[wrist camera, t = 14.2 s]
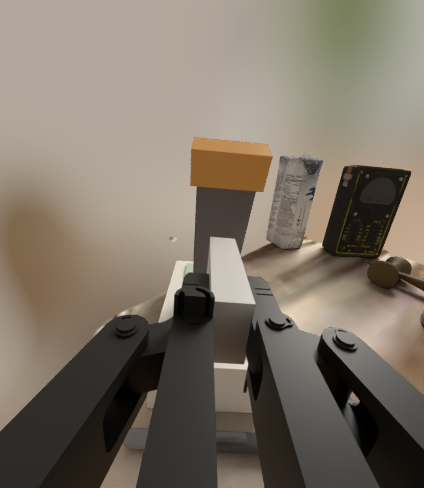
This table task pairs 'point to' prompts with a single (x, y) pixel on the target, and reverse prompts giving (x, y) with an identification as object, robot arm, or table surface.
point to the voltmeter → (364, 210)
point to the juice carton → (293, 200)
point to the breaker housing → (225, 375)
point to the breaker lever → (225, 190)
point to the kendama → (392, 272)
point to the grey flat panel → (224, 441)
